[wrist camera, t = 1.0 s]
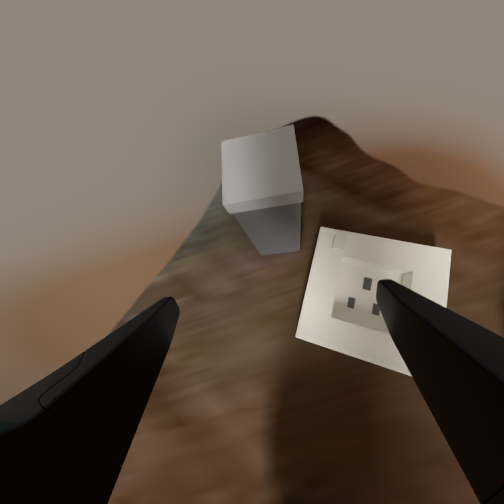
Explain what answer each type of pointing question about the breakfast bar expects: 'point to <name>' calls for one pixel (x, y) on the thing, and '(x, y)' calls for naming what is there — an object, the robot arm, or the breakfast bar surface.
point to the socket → (365, 292)
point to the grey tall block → (265, 188)
